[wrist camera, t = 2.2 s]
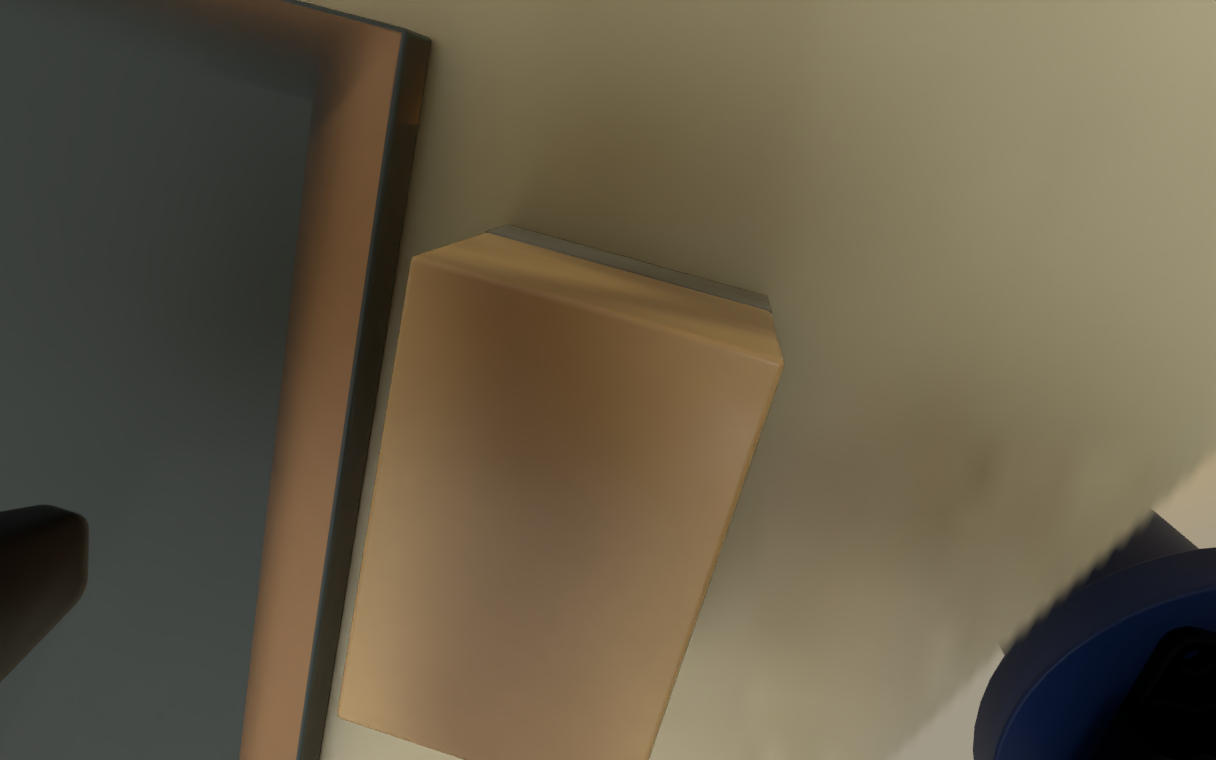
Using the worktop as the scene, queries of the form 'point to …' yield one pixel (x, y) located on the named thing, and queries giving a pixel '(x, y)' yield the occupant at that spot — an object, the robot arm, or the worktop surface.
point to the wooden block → (550, 496)
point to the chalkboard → (195, 354)
